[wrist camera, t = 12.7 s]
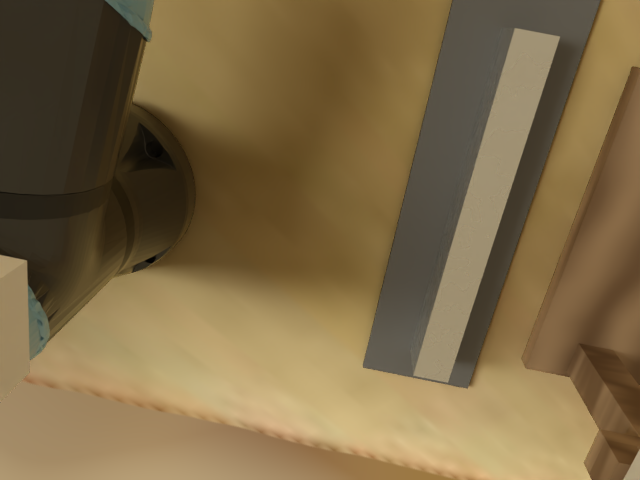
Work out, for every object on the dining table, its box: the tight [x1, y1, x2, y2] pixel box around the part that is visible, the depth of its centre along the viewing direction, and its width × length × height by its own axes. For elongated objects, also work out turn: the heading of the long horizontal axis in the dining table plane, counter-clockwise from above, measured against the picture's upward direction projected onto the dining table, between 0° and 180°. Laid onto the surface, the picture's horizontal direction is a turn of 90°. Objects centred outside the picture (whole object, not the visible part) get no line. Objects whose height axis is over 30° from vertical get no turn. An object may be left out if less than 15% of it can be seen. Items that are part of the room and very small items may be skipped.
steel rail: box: [410, 28, 560, 383], centre depth 42 cm, size 3×28×4 cm, turn 170°
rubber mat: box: [363, 0, 600, 388], centre depth 44 cm, size 10×34×1 cm, turn 170°
